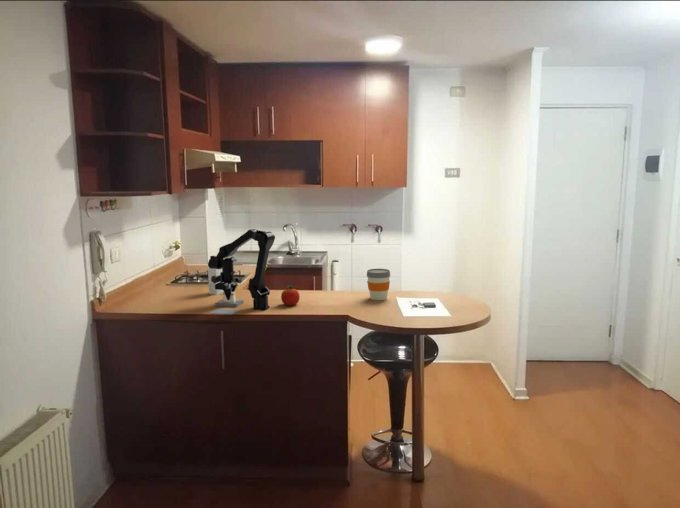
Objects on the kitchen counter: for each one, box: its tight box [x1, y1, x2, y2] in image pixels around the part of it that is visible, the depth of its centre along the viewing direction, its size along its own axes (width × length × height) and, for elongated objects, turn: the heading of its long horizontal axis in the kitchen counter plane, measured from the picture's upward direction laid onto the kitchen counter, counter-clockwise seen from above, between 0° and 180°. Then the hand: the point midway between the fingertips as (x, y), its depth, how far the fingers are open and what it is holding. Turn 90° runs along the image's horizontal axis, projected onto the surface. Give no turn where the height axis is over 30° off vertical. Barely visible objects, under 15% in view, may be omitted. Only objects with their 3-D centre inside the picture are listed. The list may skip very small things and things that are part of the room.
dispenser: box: [215, 298, 245, 308], centre depth 261 cm, size 12×8×2 cm, turn 75°
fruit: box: [280, 285, 300, 307], centre depth 259 cm, size 10×10×10 cm
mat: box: [209, 308, 240, 316], centre depth 248 cm, size 12×8×1 cm, turn 75°
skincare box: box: [207, 267, 224, 296], centre depth 287 cm, size 8×7×16 cm
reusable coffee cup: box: [366, 268, 391, 301], centre depth 269 cm, size 13×13×15 cm
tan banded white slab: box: [222, 291, 237, 302], centre depth 261 cm, size 6×2×6 cm, turn 75°
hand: (229, 299), depth 261 cm, fingers closed on tan banded white slab, 2 cm apart
